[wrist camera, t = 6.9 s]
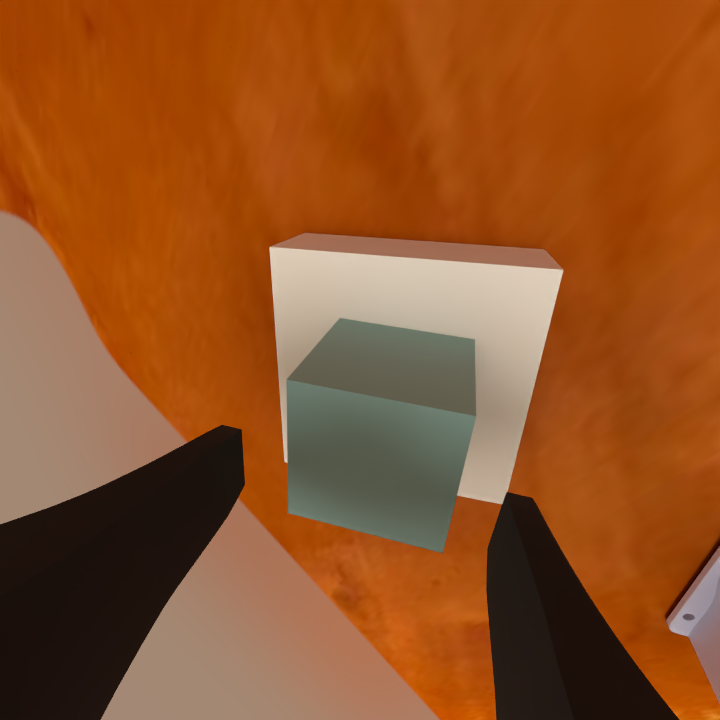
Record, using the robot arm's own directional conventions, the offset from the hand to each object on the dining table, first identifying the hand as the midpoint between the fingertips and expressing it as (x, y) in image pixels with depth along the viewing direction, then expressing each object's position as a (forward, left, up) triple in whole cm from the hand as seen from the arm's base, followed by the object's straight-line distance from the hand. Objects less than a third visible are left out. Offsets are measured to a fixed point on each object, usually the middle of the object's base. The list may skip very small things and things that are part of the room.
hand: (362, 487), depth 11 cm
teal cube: (0, 0, -6) cm, 6 cm away
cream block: (0, 0, -10) cm, 10 cm away
